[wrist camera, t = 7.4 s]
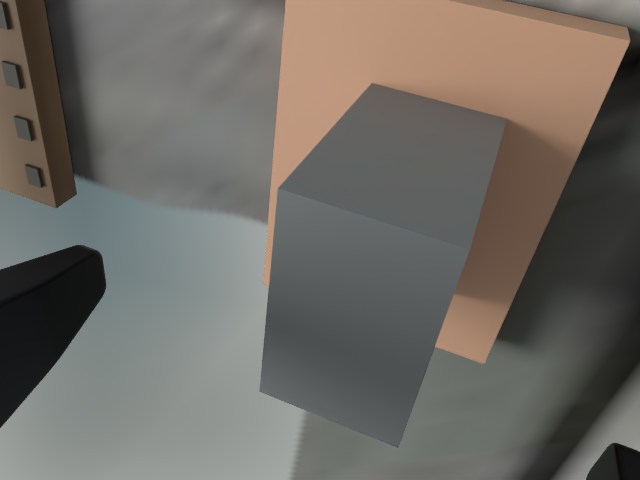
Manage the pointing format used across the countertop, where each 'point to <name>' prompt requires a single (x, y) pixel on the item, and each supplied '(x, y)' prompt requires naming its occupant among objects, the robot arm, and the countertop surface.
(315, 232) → the stub
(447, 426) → the countertop surface
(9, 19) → the board
